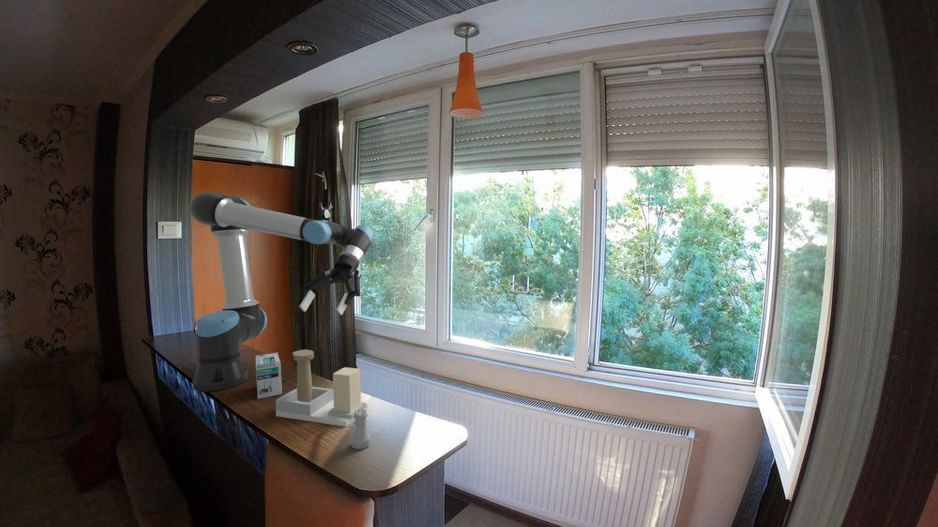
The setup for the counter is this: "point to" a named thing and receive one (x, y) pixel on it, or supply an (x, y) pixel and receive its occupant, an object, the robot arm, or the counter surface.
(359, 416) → the rook chess piece
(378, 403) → the counter surface
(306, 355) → the beige tall capped post
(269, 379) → the light bulb box
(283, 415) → the white tray base
